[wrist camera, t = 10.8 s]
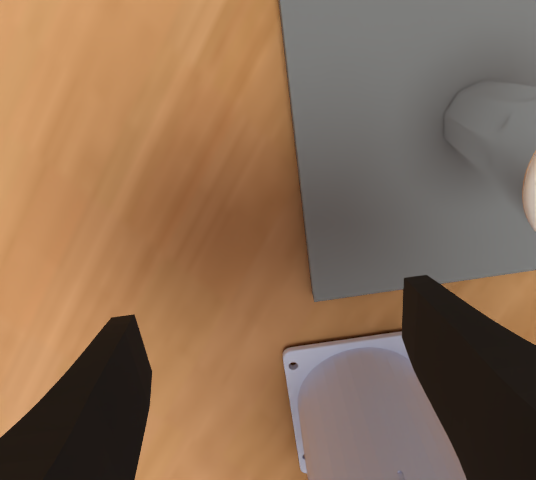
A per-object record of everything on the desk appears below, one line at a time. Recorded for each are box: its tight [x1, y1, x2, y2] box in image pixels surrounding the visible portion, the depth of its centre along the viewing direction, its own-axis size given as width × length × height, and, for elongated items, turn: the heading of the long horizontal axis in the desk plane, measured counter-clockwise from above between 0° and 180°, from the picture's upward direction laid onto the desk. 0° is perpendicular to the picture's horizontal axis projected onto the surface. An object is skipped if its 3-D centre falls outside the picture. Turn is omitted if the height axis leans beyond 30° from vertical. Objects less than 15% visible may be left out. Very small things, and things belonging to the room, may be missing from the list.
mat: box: [279, 0, 536, 302], centre depth 21 cm, size 16×16×1 cm
